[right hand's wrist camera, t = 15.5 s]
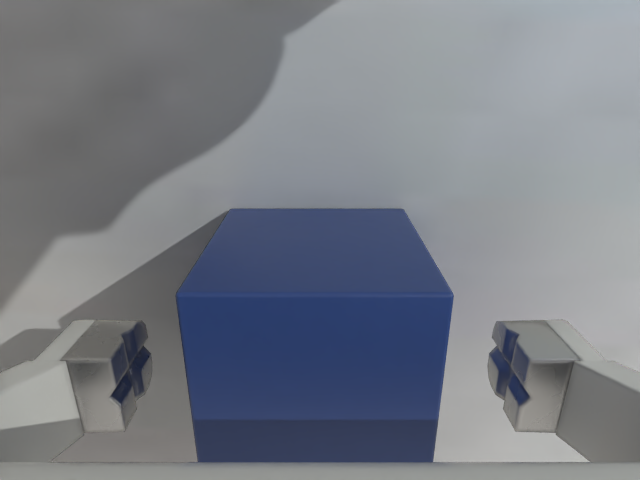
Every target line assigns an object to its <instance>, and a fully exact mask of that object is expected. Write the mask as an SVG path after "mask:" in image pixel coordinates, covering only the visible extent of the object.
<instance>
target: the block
mask: <svg viewBox="0 0 640 480" xmlns="http://www.w3.org/2000/svg"><path fill="white" fill-rule="evenodd" d="M453 297H454V295H453V293H452V291H451V289H450V287H449V286H448V284H447V282H446V281H445V279H444V277H443V276H442V274H441V272H440V270H439V269H438V267H437V265H436V264H435V262H434V260H433V259H432V257H431V255H430V253H429V252H428V250H427V248H426V247H425V245H424V243H423V242H422V240H421V238H420V236H419V235H418V233H417V231H416V230H415V228H414V226H413V225H412V223H411V221H410V219H409V218H408V216H407V214H406V213H405V211H404V210H403V209H230V210H229V212H228V213H227V215H226V216H225V218H224V219H223V221H222V223H221V224H220V226H219V227H218V229H217V230H216V232H215V233H214V235H213V237H212V238H211V240H210V241H209V243H208V244H207V246H206V248H205V249H204V251H203V252H202V254H201V255H200V257H199V258H198V260H197V262H196V263H195V265H194V266H193V268H192V269H191V271H190V273H189V274H188V276H187V277H186V279H185V280H184V282H183V283H182V285H181V287H180V288H179V290H178V291H177V293H176V302H177V310H178V317H179V325H180V332H181V340H182V347H183V354H184V362H185V369H186V377H187V384H188V392H189V399H190V407H191V414H192V422H193V429H194V436H195V444H196V451H197V459H198V462H433V458H434V450H435V442H436V434H437V426H438V418H439V410H440V402H441V394H442V386H443V378H444V370H445V361H446V353H447V345H448V337H449V329H450V321H451V313H452V305H453Z"/></svg>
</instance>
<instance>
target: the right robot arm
mask: <svg viewBox="0 0 640 480" xmlns="http://www.w3.org/2000/svg"><path fill="white" fill-rule="evenodd" d="M147 338H148V334H147V329H146V325H145V324H144V323H143V322H142V321H131V320H76V321H72V322H71V323H70V324H69V325H68V326H67V327H66V329H65V330H64V331H63V332H62V333H61V334H60V335H59V336H58V337H57V338H56V339H55V340H54V341H53V342H52V343H51V344H50V345H49V346H48V347H47V348H46V349H45V350H44V351H43V352H42V353H41V354H40V355H39V356H38V357H37V358H36V359H35V360H34V361H25V362H23V363H20V364H18V365H16V366H14V367H11V368H9V369H7V370H5V371H3V372H0V480H640V372H637V371H635V370H633V369H631V368H629V367H626V366H624V365H622V364H620V363H617V362H615V361H606V360H605V359H604V358H603V357H602V356H601V355H600V354H599V353H598V352H597V351H596V350H595V349H594V348H593V347H592V346H591V345H590V344H589V343H588V342H587V341H586V340H585V338H584V337H583V336H582V335H581V334H580V333H579V332H578V331H577V330H576V329H575V328H574V327H573V326H572V325H571V324H570V323H569V322H568V321H565V320H562V319H559V320H531V321H497V322H496V324H495V326H494V328H493V334H492V338H493V340H494V341H495V343H496V344H497V346H496V347H495V348H494V349H493V350H492V351H491V352H490V353H489V359H488V376H489V381H490V384H491V387H492V389H493V391H494V393H495V395H497V396H498V397H500V398H501V399H503V400H504V407H503V410H504V411H505V413H506V415H507V417H508V419H509V421H510V422H511V424H512V426H513V428H514V430H515V431H516V432H546V433H556V435H557V436H558V437H560V438H561V439H562V440H563V441H565V442H566V443H567V444H568V445H570V446H571V447H572V448H573V449H575V450H576V451H577V452H579V453H580V454H581V455H582V456H584V457H585V458H586V459H587V460H589V461H590V462H50V461H51V460H53V459H54V458H55V457H57V456H58V455H59V454H60V453H62V452H63V451H64V450H65V449H67V448H68V447H69V446H71V445H72V444H73V443H74V442H76V441H77V440H78V439H79V438H81V437H82V436H83V435H84V433H93V432H125V430H126V428H127V426H128V424H129V422H130V421H131V419H132V417H133V415H134V413H135V411H136V410H137V407H136V400H137V399H139V398H140V397H142V396H143V395H145V393H146V391H147V389H148V387H149V384H150V380H151V375H152V358H151V353H150V352H149V351H148V350H147V349H146V348H145V347H144V346H143V345H144V343H145V341H146V340H147Z"/></svg>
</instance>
